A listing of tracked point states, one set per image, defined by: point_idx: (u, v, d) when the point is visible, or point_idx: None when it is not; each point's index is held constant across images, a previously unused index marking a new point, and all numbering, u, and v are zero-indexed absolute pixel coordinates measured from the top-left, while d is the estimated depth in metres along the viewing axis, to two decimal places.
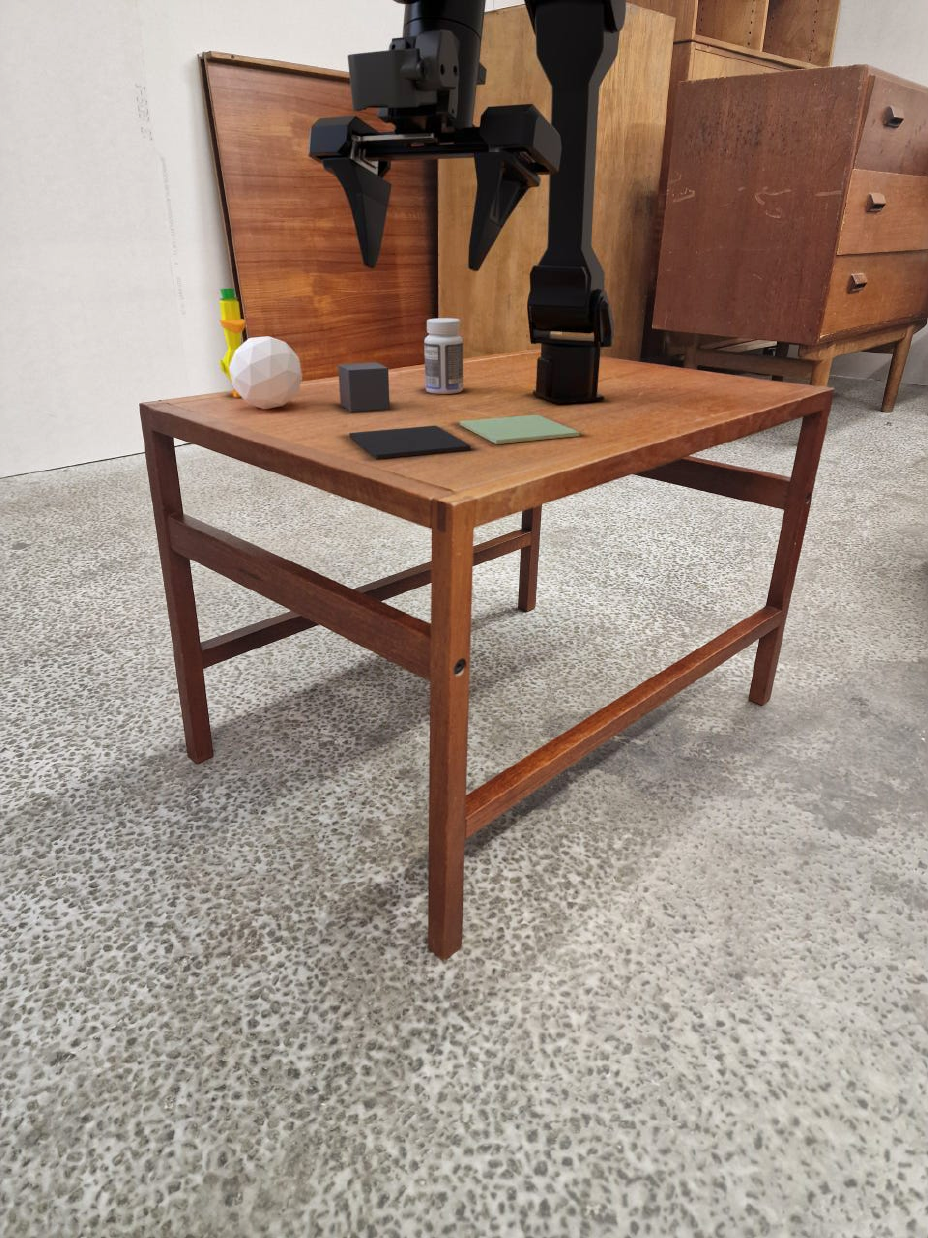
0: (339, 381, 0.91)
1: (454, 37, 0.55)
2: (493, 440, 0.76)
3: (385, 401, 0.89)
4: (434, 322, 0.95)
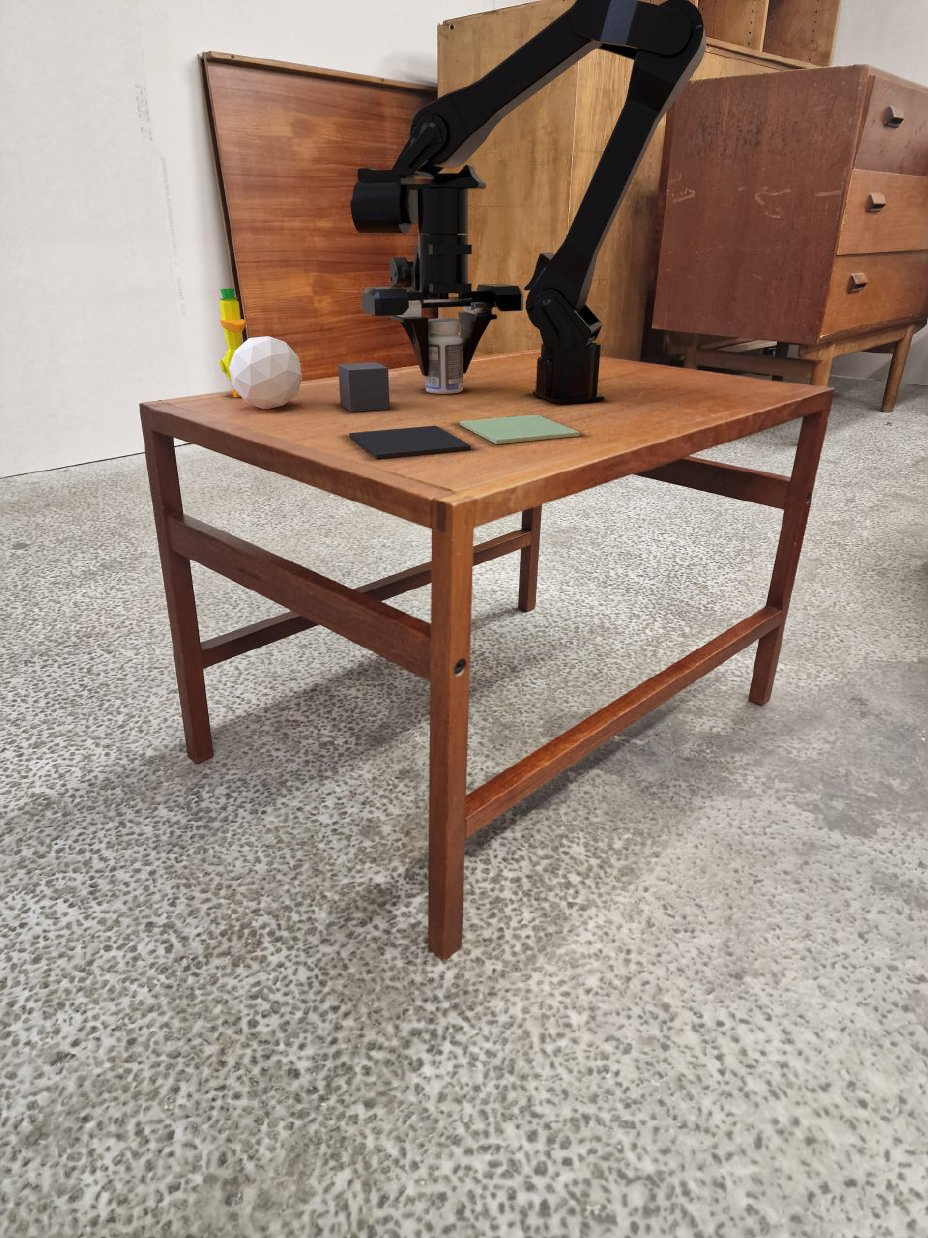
0: (339, 381, 0.91)
1: (416, 245, 0.94)
2: (493, 440, 0.76)
3: (385, 401, 0.89)
4: (434, 322, 0.95)
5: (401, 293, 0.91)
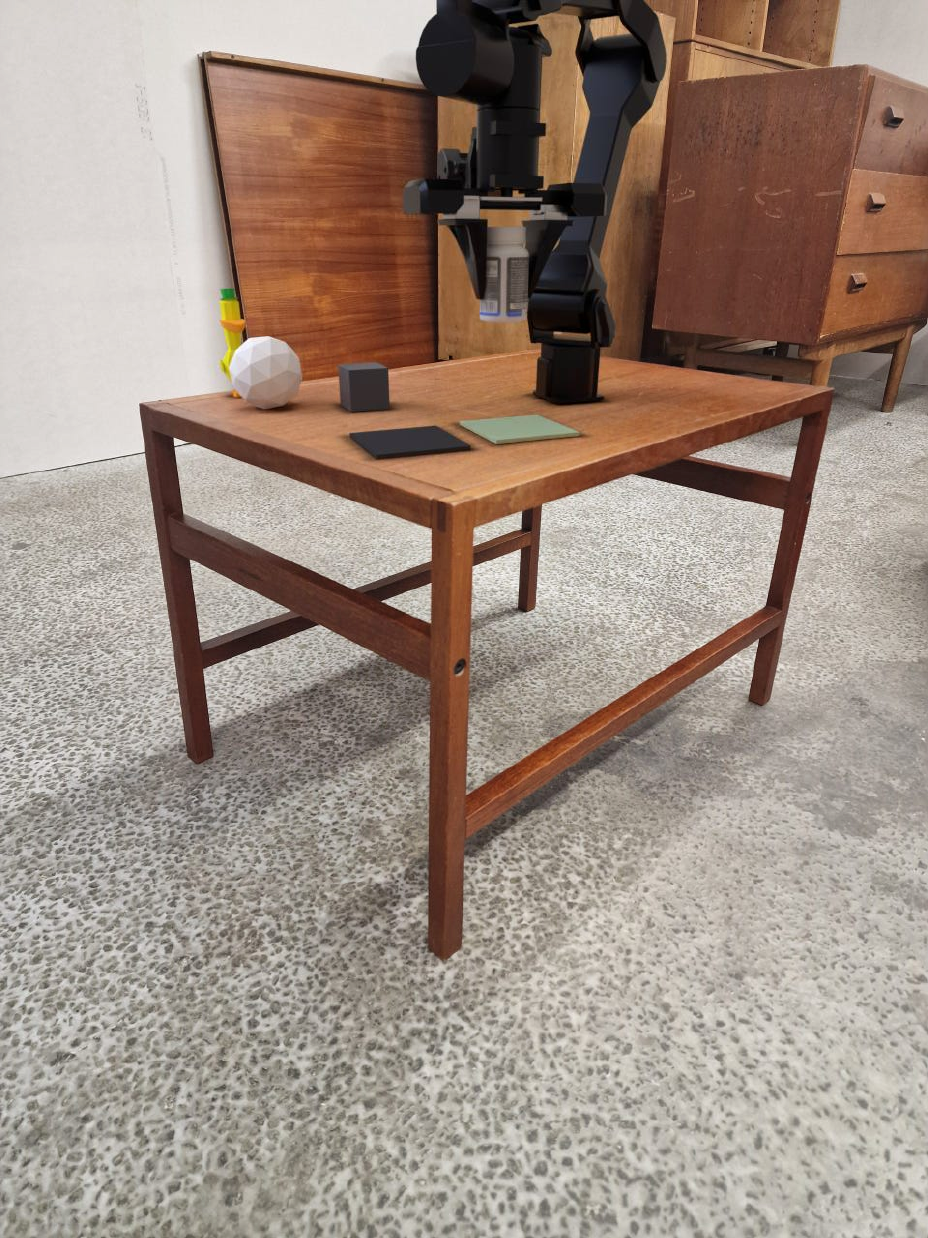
0: (339, 381, 0.91)
1: (473, 128, 0.74)
2: (493, 440, 0.76)
3: (385, 401, 0.89)
4: (494, 228, 0.75)
5: (455, 184, 0.70)
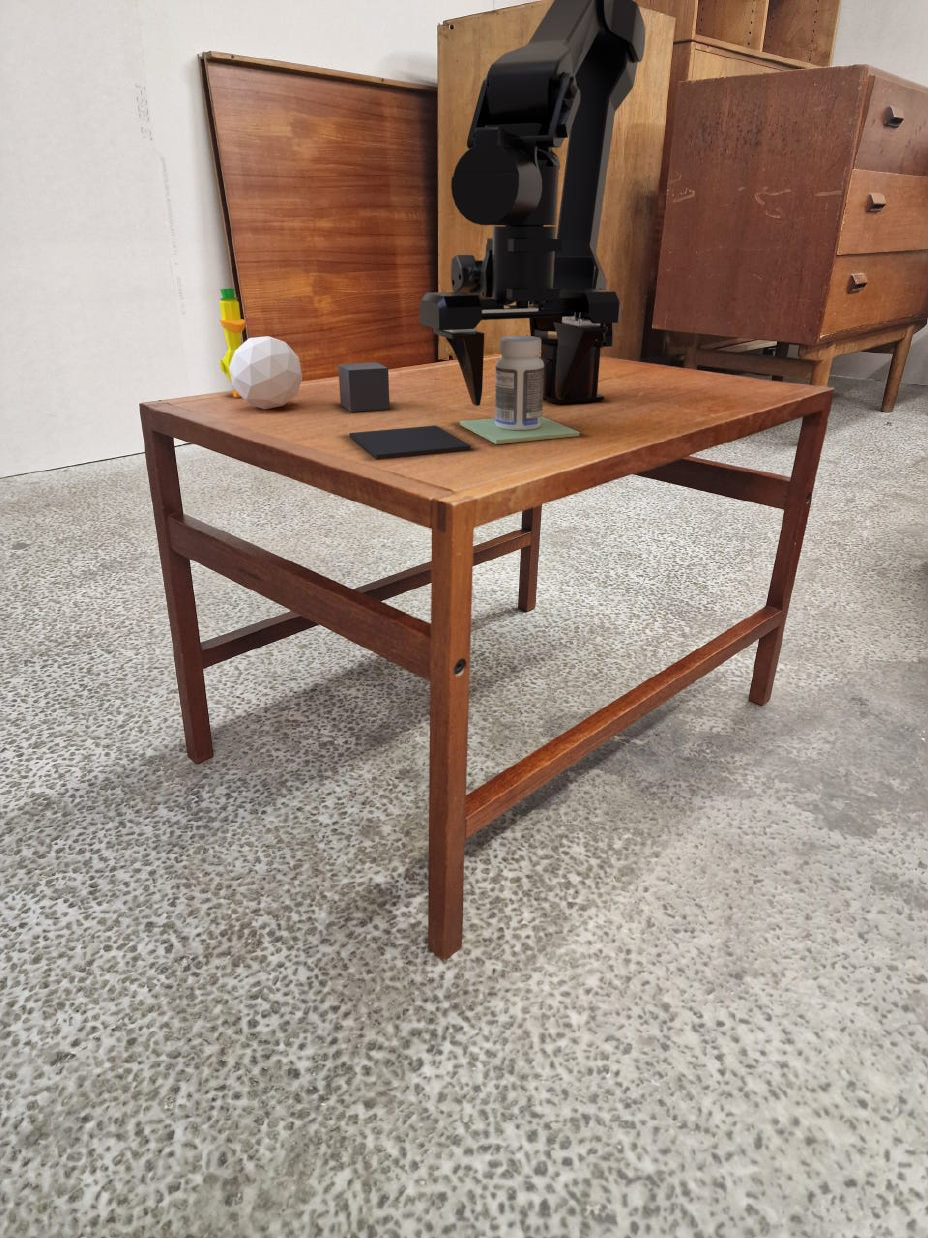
0: (339, 381, 0.91)
1: (489, 240, 0.74)
2: (493, 440, 0.76)
3: (385, 401, 0.89)
4: (510, 342, 0.75)
5: (473, 300, 0.71)
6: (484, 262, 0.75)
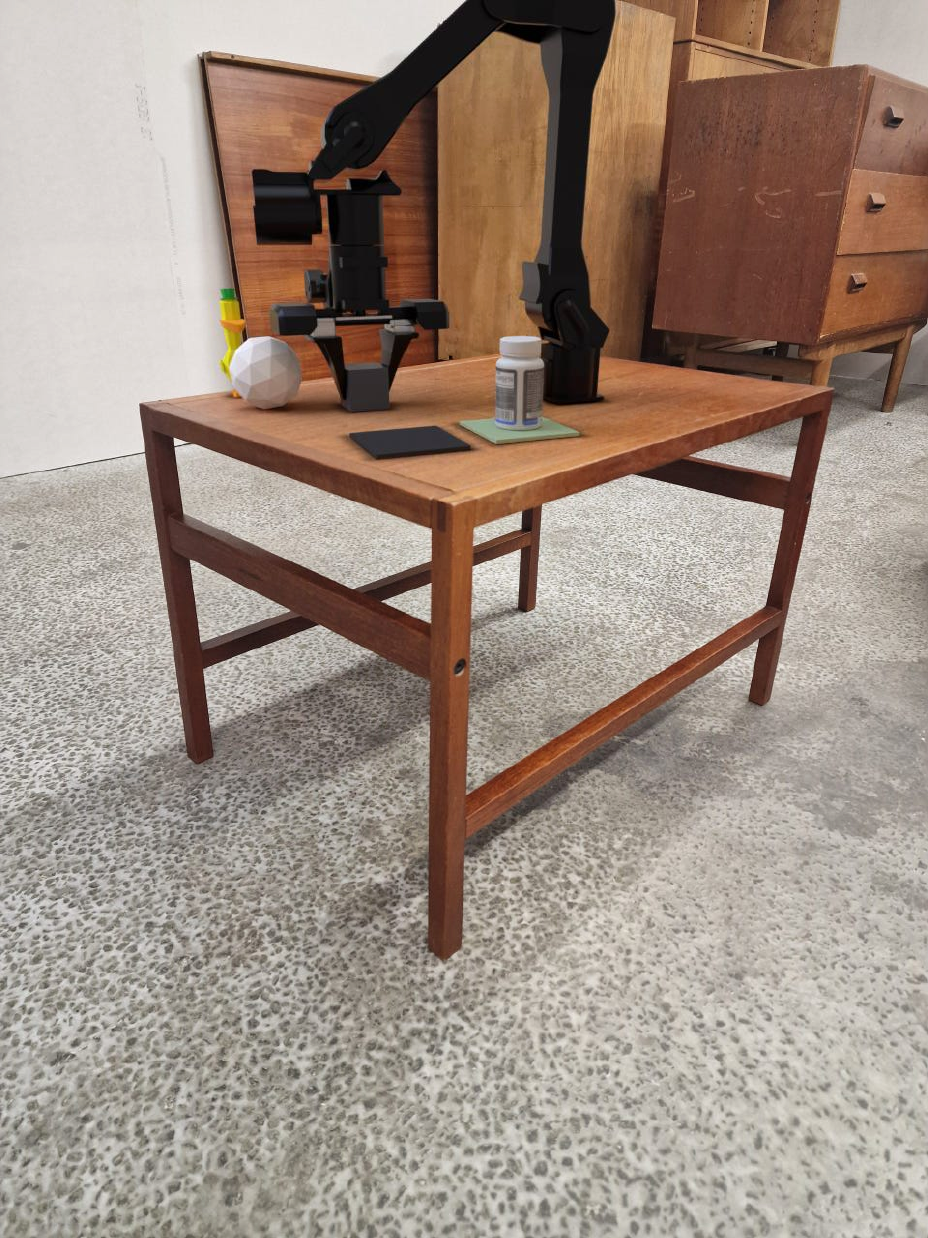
0: None
1: (329, 257, 0.85)
2: (493, 440, 0.76)
3: (385, 401, 0.89)
4: (510, 342, 0.75)
5: (309, 310, 0.82)
6: (327, 276, 0.86)
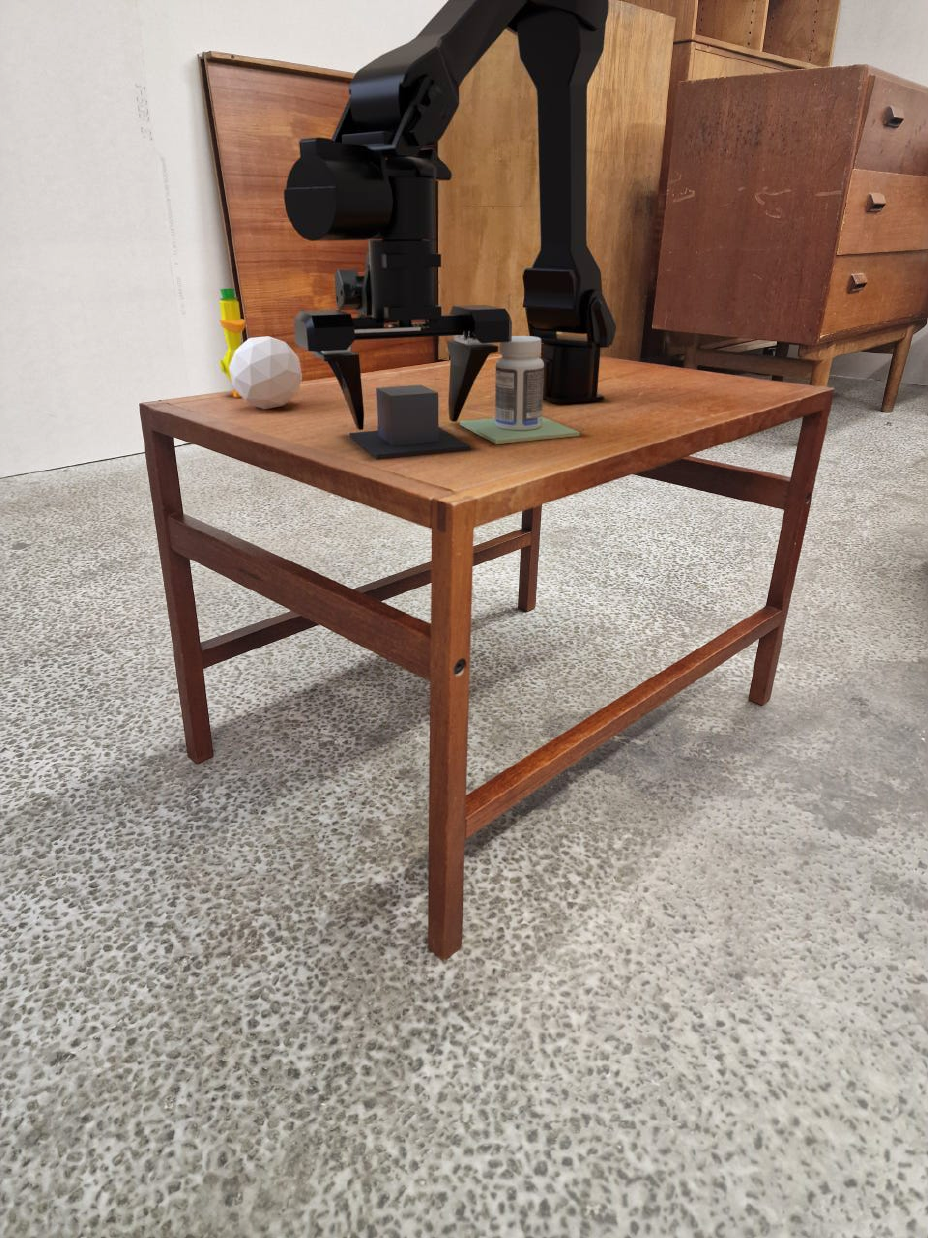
0: (377, 408, 0.75)
1: (367, 254, 0.70)
2: (493, 440, 0.76)
3: (433, 432, 0.74)
4: (510, 342, 0.75)
5: (345, 320, 0.66)
6: (364, 278, 0.71)
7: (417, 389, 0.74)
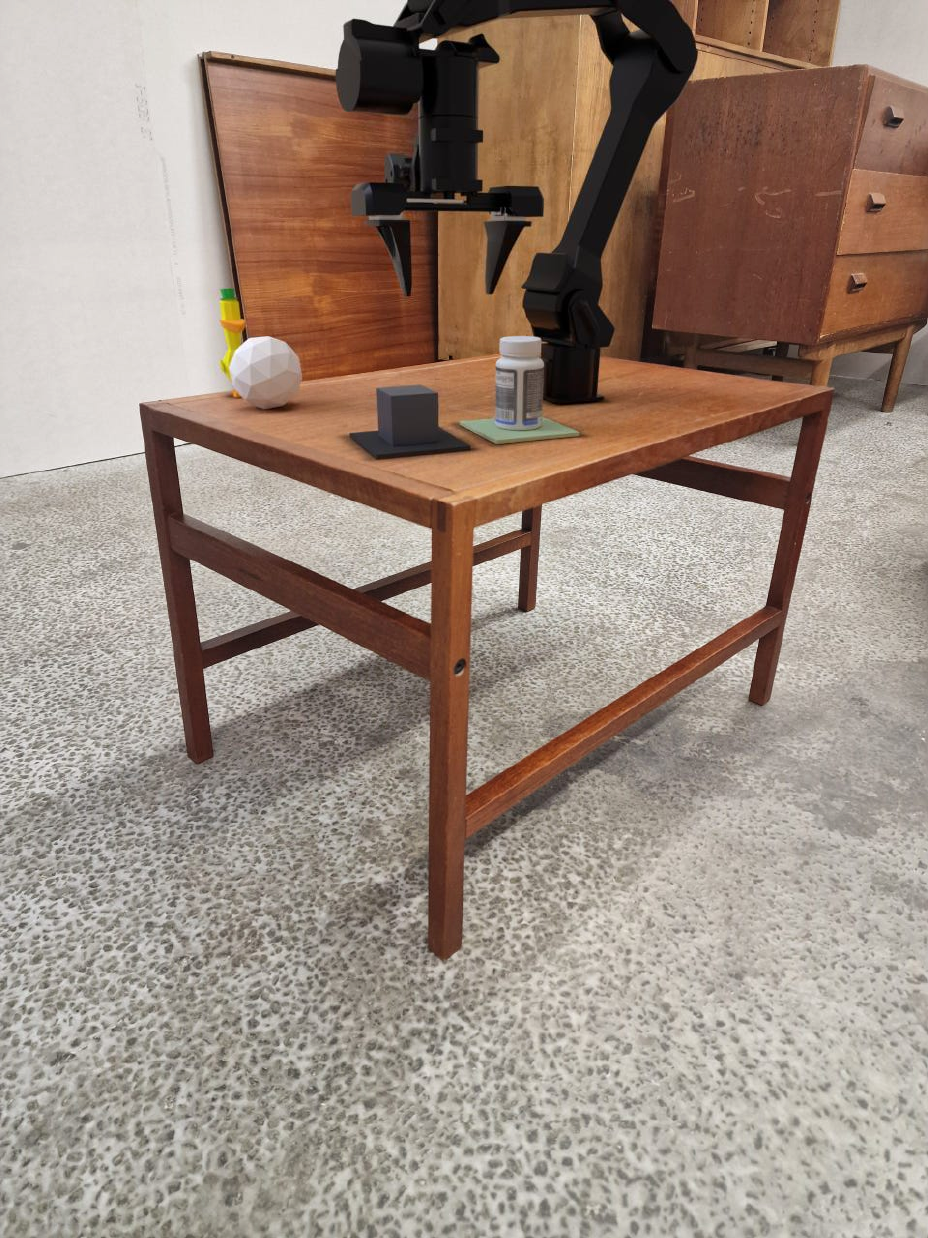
0: (377, 408, 0.75)
1: (416, 135, 0.78)
2: (493, 440, 0.76)
3: (433, 432, 0.74)
4: (510, 342, 0.75)
5: (398, 187, 0.75)
6: (413, 157, 0.79)
7: (417, 389, 0.74)
